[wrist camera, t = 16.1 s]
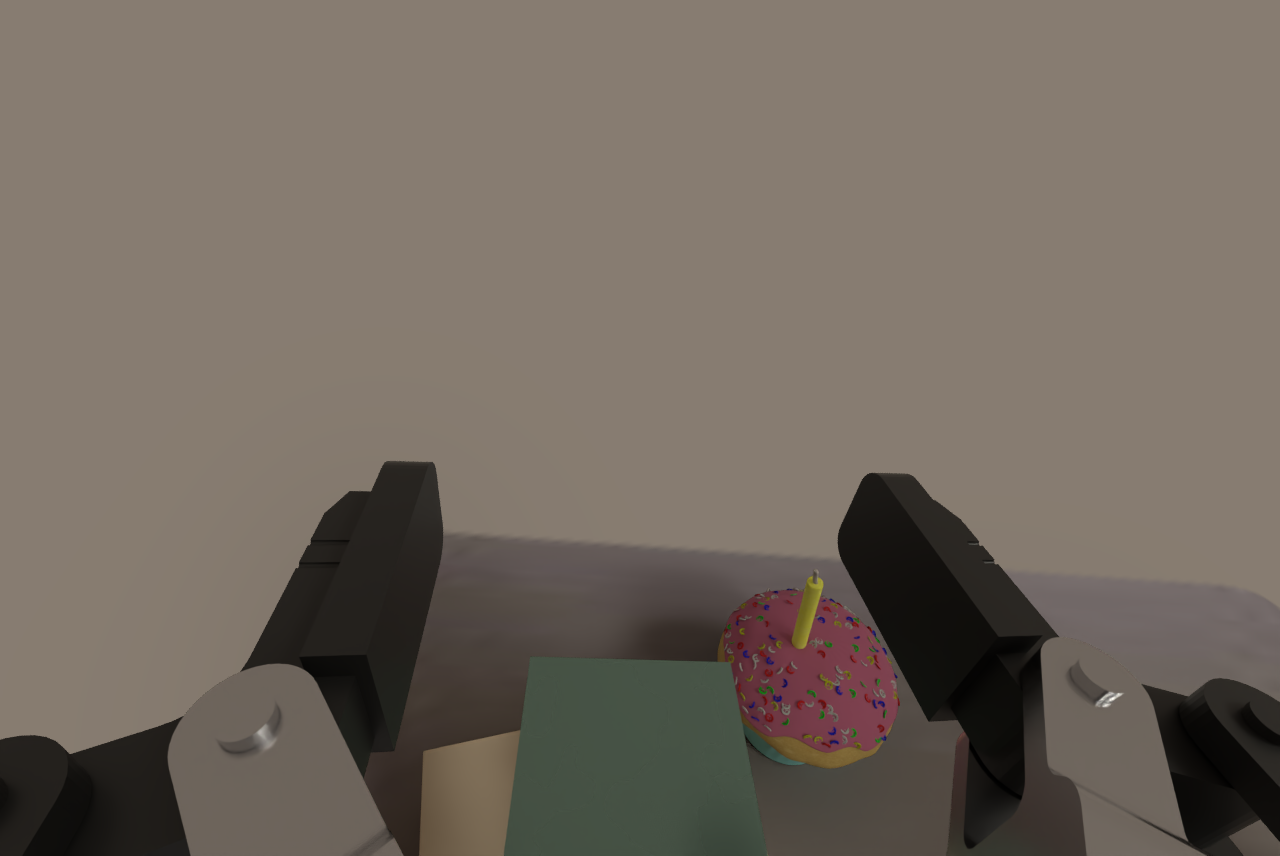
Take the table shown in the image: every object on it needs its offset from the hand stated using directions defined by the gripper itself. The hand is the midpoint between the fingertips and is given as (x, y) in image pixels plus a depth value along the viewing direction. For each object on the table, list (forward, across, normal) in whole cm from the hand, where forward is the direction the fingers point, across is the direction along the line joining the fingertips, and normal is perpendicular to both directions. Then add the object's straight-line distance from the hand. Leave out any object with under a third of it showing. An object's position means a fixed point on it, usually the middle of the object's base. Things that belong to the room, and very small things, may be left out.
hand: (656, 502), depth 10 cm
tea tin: (-1, 0, +16) cm, 16 cm away
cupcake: (+6, -10, +21) cm, 24 cm away
